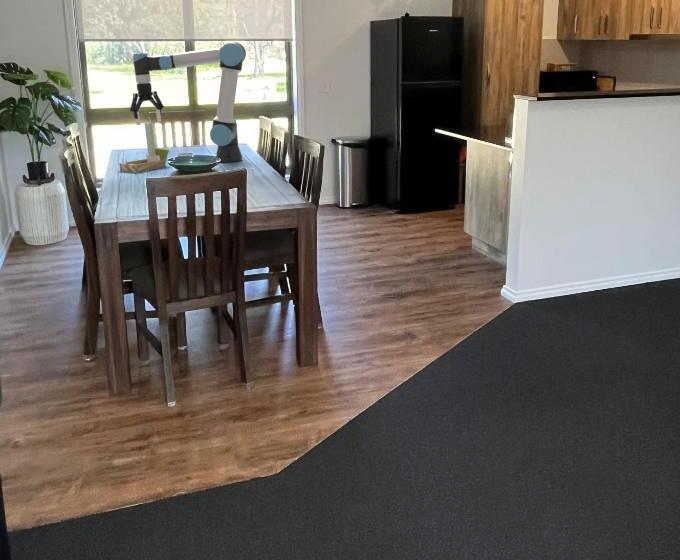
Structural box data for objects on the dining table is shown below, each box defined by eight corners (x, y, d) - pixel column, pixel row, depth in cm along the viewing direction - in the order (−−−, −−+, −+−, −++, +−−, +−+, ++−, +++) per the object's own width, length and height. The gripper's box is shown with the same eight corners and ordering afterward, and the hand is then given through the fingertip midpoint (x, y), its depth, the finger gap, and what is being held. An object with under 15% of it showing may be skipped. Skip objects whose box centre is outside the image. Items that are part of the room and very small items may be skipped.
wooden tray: (165, 167, 405) (164, 160, 403) (136, 172, 391) (135, 165, 390) (149, 165, 414) (148, 158, 413) (120, 170, 400) (119, 163, 399)
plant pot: (162, 165, 404) (163, 149, 403) (147, 163, 407) (148, 147, 405) (171, 166, 413) (172, 150, 411) (156, 163, 416) (158, 148, 414)
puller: (160, 166, 405) (155, 123, 397) (157, 167, 403) (152, 123, 396) (149, 165, 411) (143, 122, 404) (146, 165, 410) (140, 122, 403)
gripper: (158, 81, 405) (163, 120, 411) (119, 84, 387) (125, 125, 394) (167, 81, 400) (172, 120, 407) (127, 84, 382) (133, 126, 389)
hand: (149, 123), depth 400 cm, fingers open, 13 cm apart
